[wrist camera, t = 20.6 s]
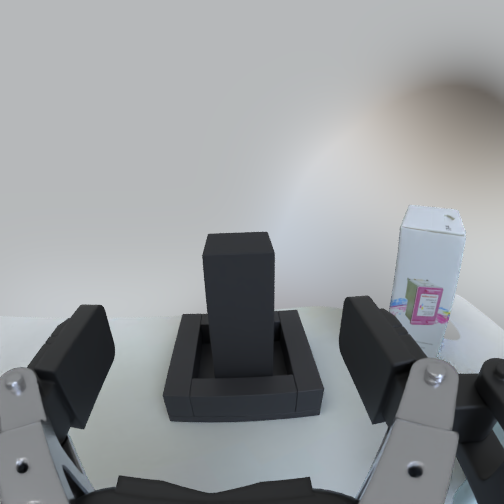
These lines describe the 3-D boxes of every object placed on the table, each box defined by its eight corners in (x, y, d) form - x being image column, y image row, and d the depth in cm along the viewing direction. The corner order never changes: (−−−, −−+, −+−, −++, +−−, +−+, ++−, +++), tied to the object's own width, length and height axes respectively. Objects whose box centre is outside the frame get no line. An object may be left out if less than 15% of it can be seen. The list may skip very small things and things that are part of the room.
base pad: (170, 421, 18) (162, 395, 17) (186, 338, 27) (182, 313, 27) (319, 415, 19) (324, 388, 18) (295, 333, 28) (297, 309, 27)
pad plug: (215, 387, 21) (202, 254, 17) (217, 353, 25) (207, 233, 21) (272, 385, 21) (274, 252, 18) (267, 351, 25) (267, 231, 21)
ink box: (391, 315, 30) (408, 200, 26) (436, 324, 27) (459, 208, 23) (374, 365, 23) (400, 221, 19) (431, 378, 20) (471, 233, 16)
